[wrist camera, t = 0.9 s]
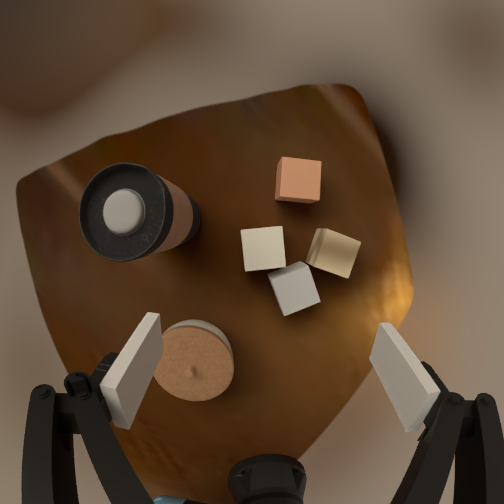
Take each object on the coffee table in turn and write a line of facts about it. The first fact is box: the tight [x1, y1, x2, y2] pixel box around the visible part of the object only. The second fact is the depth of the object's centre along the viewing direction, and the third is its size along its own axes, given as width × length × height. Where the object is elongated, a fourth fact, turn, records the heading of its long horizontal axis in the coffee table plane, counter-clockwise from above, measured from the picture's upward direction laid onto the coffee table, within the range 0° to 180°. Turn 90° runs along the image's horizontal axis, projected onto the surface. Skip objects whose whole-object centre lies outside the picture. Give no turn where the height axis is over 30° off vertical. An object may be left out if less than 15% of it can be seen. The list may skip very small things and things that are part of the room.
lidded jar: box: [153, 319, 234, 401], centre depth 36 cm, size 11×11×9 cm
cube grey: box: [267, 261, 321, 316], centre depth 38 cm, size 5×5×5 cm
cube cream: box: [241, 226, 286, 271], centre depth 38 cm, size 5×5×5 cm
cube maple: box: [305, 229, 361, 278], centre depth 38 cm, size 5×5×5 cm
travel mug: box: [79, 162, 201, 262], centre depth 29 cm, size 8×8×20 cm
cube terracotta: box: [275, 157, 321, 203], centre depth 37 cm, size 5×5×5 cm
